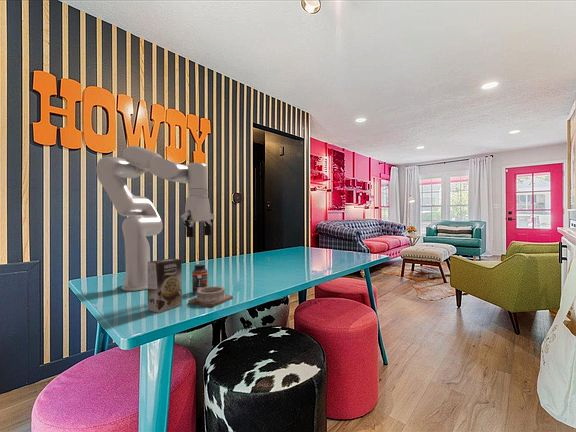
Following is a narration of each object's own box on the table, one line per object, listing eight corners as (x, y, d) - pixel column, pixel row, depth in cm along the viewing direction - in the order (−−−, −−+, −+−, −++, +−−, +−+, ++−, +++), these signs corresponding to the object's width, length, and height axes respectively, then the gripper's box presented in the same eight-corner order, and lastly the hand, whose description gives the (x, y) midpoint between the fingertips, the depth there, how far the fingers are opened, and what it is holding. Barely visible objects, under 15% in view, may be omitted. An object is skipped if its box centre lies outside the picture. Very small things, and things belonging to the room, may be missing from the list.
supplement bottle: (203, 294, 109) (202, 265, 109) (189, 294, 111) (189, 265, 110) (210, 290, 115) (210, 263, 115) (197, 290, 116) (196, 263, 116)
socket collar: (188, 303, 99) (188, 292, 99) (210, 295, 109) (209, 284, 109) (212, 307, 94) (212, 295, 94) (232, 298, 104) (232, 287, 104)
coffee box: (158, 313, 89) (157, 262, 89) (147, 310, 92) (146, 261, 92) (183, 305, 97) (182, 258, 97) (171, 302, 100) (170, 257, 100)
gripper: (206, 195, 122) (207, 234, 122) (174, 193, 107) (175, 237, 107) (219, 194, 119) (220, 234, 119) (188, 191, 103) (189, 238, 103)
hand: (199, 236), depth 113 cm, fingers open, 9 cm apart
